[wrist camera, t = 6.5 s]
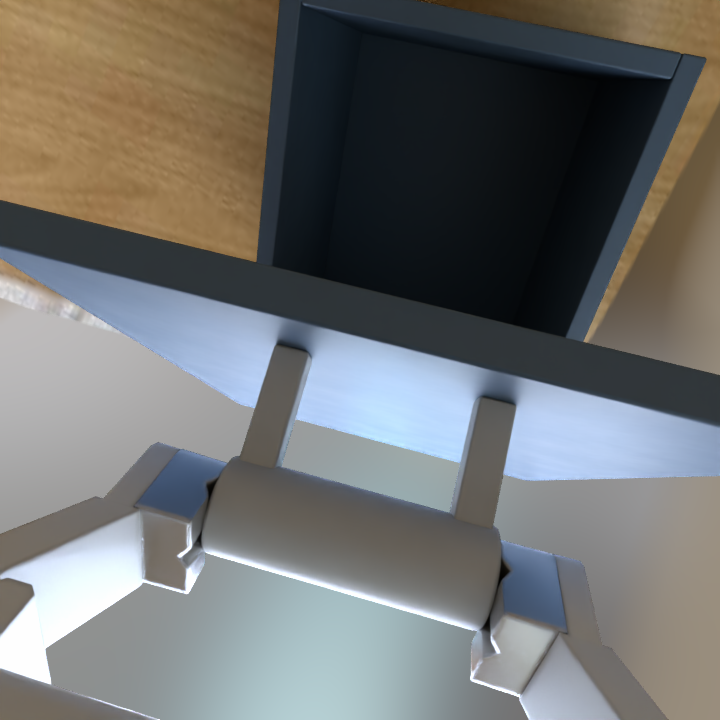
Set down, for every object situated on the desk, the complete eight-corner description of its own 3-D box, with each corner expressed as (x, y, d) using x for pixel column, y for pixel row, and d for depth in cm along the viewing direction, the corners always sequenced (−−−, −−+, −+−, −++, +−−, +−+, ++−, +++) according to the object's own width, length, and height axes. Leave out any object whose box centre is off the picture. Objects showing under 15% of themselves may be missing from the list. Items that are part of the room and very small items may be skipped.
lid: (-18, 193, 9) (-152, 481, 8) (905, 418, 8) (892, 790, 7) (243, 388, 27) (213, 483, 26) (531, 464, 26) (511, 566, 25)
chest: (353, 14, 30) (281, -27, 18) (616, 67, 28) (708, 57, 17) (311, 301, 38) (244, 391, 27) (512, 351, 37) (528, 466, 26)
